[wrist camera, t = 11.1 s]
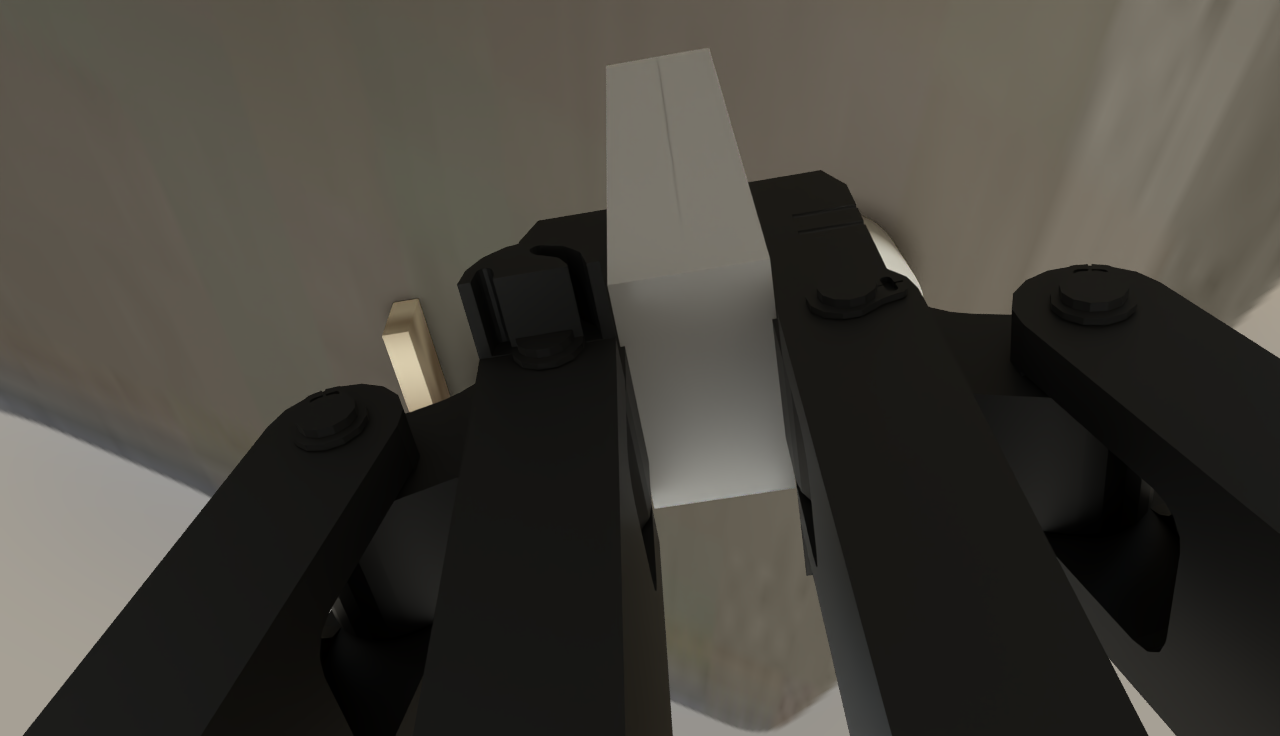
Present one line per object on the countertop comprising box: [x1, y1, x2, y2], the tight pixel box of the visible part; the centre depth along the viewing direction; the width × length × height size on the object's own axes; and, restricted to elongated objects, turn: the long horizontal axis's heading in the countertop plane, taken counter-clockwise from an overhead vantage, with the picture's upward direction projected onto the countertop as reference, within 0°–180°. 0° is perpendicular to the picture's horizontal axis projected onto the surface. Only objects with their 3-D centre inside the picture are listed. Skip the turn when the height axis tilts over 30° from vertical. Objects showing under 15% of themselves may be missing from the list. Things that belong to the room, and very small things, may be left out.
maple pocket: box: [382, 299, 450, 412], centre depth 50 cm, size 10×12×3 cm
